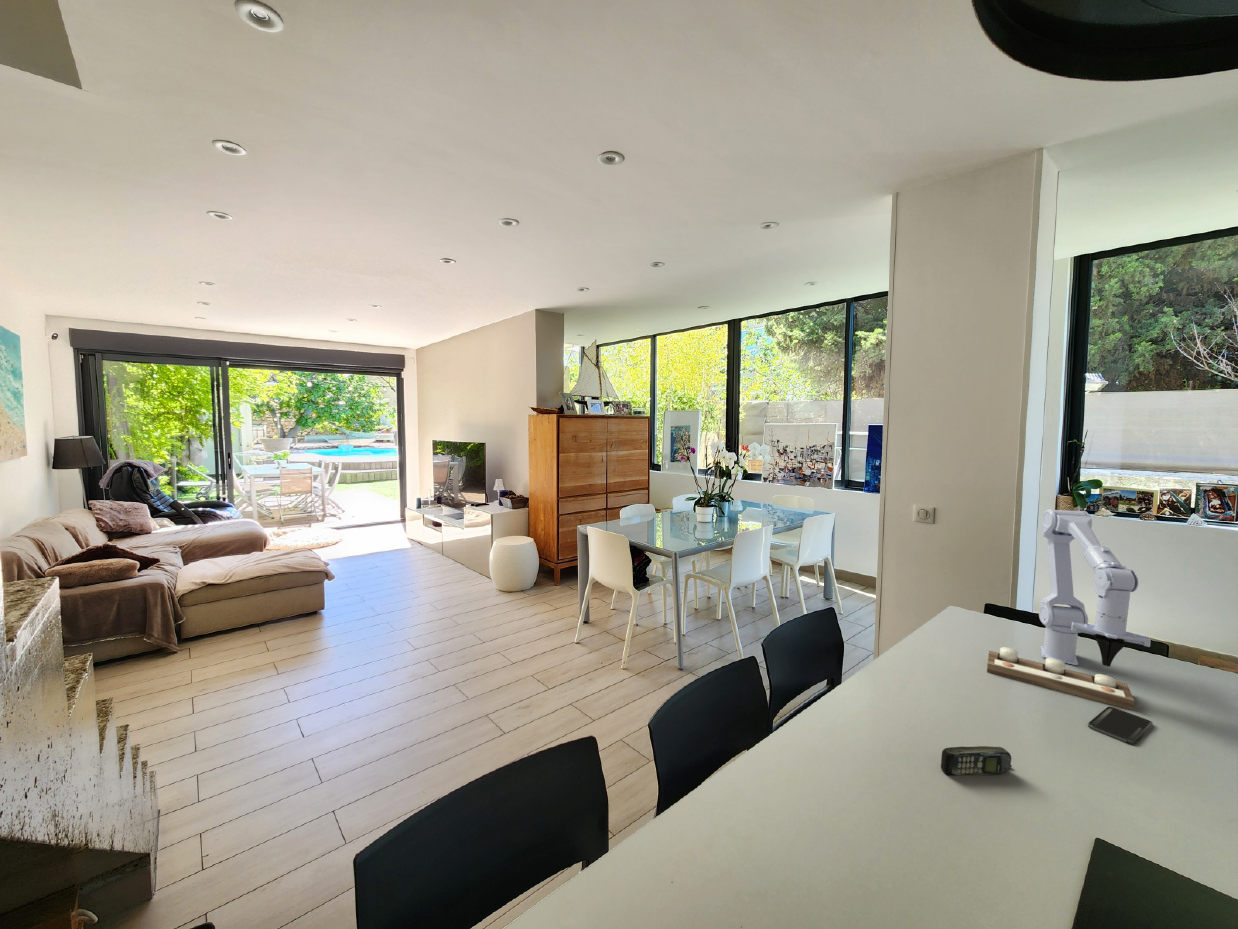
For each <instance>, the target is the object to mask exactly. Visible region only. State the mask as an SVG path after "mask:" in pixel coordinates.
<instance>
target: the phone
mask: <svg viewBox="0 0 1238 929" xmlns="http://www.w3.org/2000/svg"><path fill="white" fill-rule="evenodd" d="M1153 725H1154V723H1153V721H1151V720H1149V719H1147V718H1144V717H1142V716H1139V715H1136V714H1133V713H1130V712H1128V711H1125V710H1122V709H1119V708H1117V707H1115V706H1114V707H1113V706H1107V707H1105V708H1104V709H1103V710H1102V711H1101V712H1100V713H1099V714H1097V715H1095V717H1093V719H1091V720H1090V721H1089V722H1088V723H1087V727H1088V728H1089V730H1092V731H1095V732H1097V733H1098V734H1099V733H1100V734H1101V735H1104V736H1107V737H1110V738H1112V739H1114V740H1117V741H1119V742H1122V743H1124V744H1127V745H1131V746H1134V745H1136V744H1137V743H1138V742H1140V740H1142V738H1143V736H1145V735H1146V734H1147V732H1148V731H1150V729H1152V727H1153Z"/></svg>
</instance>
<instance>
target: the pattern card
mask: <svg viewBox="0 0 1238 929" xmlns="http://www.w3.org/2000/svg"><path fill="white" fill-rule="evenodd" d="M994 665H998V666H1002V667H1006V668H1010V669H1014V670H1018V671H1022V672H1026V673H1030V674H1034V675H1038V676H1042V677H1045V678H1049V679H1053V680H1057V681H1061V682H1065V683H1069V684H1073V685H1077V686H1081V687H1085V688H1089V689H1093V690H1097V691H1101V692H1105V693H1109V694H1113V695H1116V696H1120V697H1124V698H1125V694H1124V692H1123V691H1122V690H1118V689H1114V688H1109V687H1105V686H1101V685H1097V684H1093V683H1089V682H1085V681H1081V680H1077V679H1073V678H1069V677H1065V676H1061V675H1057V674H1053V673H1049V672H1045V671H1041V670H1037V669H1033V668H1029V667H1025V666H1021V665H1017V664H1013V663H1009V662H1005V661H1001V660H997V659H995V663H994Z"/></svg>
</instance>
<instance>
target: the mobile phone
mask: <svg viewBox="0 0 1238 929" xmlns="http://www.w3.org/2000/svg"><path fill="white" fill-rule="evenodd" d="M940 758H941V759H940V768H941V771H942V772H943V773H944V775H947V776H966V775H967V776H971V775H973V776H974V775H976V776H977V775H978V776H980V775H981V776H995V775H1000V774H1003V773H1006V772H1008V771H1009V769H1011V768H1012V766H1013V765H1012V756H1011V753H1010V752H1009V751H1008V750H1007V749H1005V748H1004V747H1001V746H987V745H983V746H982V745H980V746H953V747H952V746H951V747H945V748H943V749H942V751H941V757H940Z"/></svg>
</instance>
